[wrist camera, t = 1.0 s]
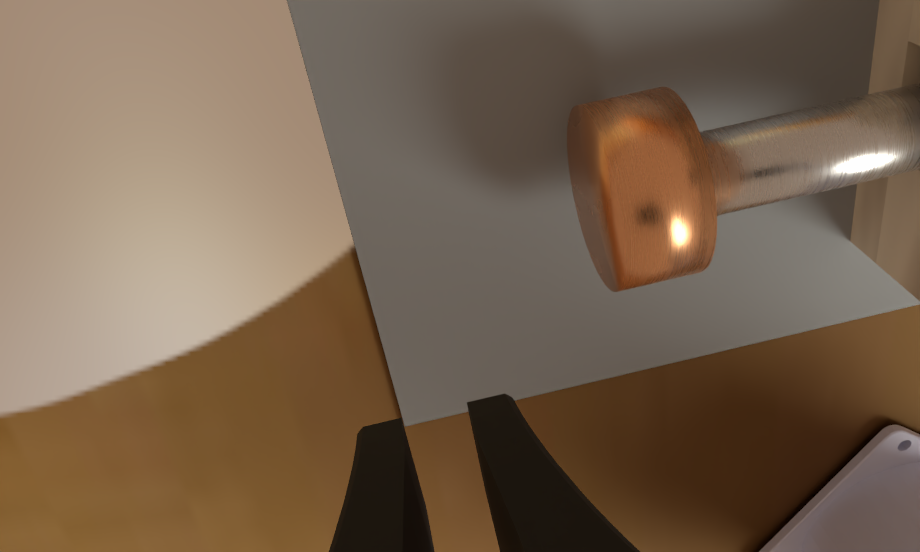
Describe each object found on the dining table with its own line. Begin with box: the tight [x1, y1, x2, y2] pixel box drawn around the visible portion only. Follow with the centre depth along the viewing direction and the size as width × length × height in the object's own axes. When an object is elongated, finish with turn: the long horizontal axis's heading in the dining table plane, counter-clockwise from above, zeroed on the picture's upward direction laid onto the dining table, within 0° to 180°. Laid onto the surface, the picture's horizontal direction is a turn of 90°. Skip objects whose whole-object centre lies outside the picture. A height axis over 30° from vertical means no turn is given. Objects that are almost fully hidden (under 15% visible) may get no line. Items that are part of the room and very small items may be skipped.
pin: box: [567, 83, 920, 292], centre depth 19 cm, size 10×4×4 cm, turn 99°
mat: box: [287, 0, 920, 426], centre depth 21 cm, size 24×16×1 cm, turn 99°
